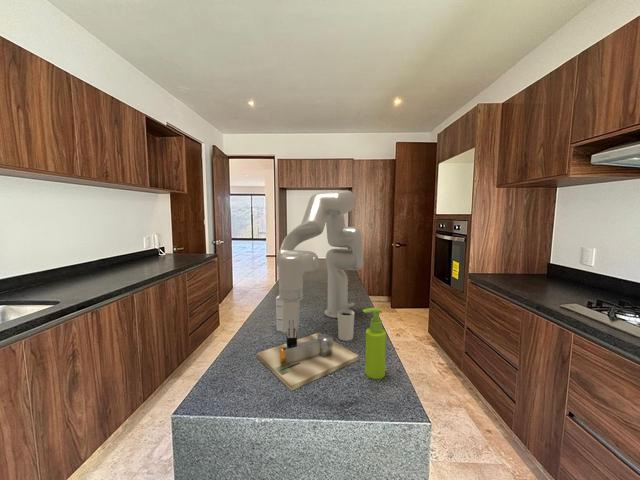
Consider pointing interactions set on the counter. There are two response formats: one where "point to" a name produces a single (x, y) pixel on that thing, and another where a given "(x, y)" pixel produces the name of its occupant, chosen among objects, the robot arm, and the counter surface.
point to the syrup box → (279, 314)
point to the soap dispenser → (375, 346)
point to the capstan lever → (307, 349)
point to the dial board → (306, 364)
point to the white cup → (345, 324)
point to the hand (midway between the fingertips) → (292, 348)
